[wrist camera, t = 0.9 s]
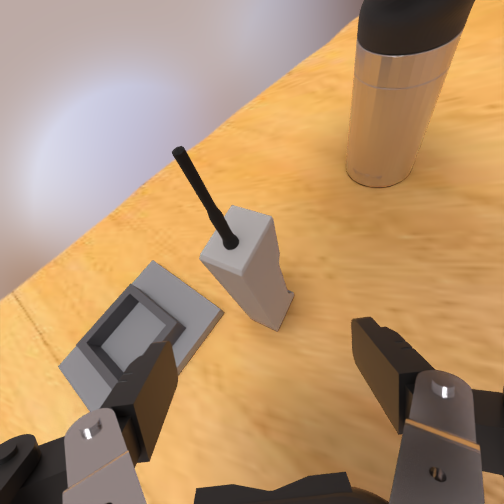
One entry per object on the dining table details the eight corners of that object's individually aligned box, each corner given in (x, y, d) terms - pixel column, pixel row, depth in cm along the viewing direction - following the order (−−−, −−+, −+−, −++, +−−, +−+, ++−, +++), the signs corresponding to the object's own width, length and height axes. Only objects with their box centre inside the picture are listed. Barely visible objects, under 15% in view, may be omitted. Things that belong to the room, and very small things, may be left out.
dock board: (158, 264, 41) (143, 252, 37) (224, 312, 34) (213, 302, 31) (67, 367, 36) (40, 364, 32) (125, 447, 29) (99, 452, 26)
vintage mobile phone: (294, 295, 33) (243, 108, 12) (278, 332, 32) (184, 188, 10) (268, 285, 35) (182, 102, 14) (251, 319, 33) (122, 171, 12)
